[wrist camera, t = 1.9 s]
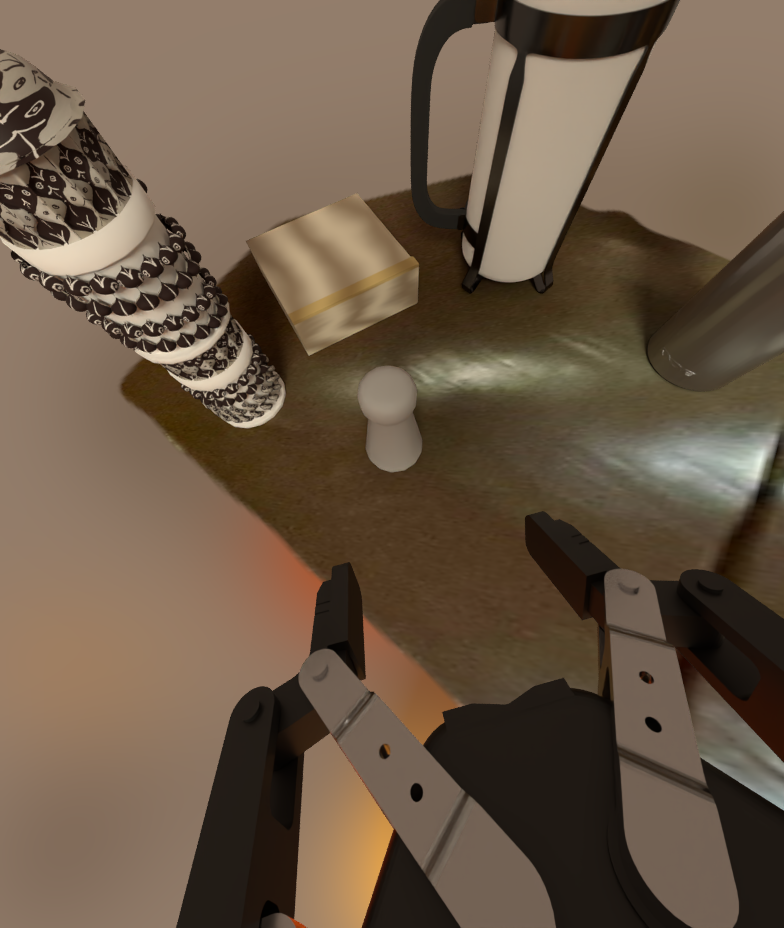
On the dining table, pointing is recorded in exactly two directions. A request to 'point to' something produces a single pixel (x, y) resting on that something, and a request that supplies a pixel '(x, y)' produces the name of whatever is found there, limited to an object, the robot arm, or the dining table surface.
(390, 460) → the salt shaker
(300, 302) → the wood block
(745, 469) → the dining table surface
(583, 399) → the dining table surface
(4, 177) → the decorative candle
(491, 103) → the coffee press
